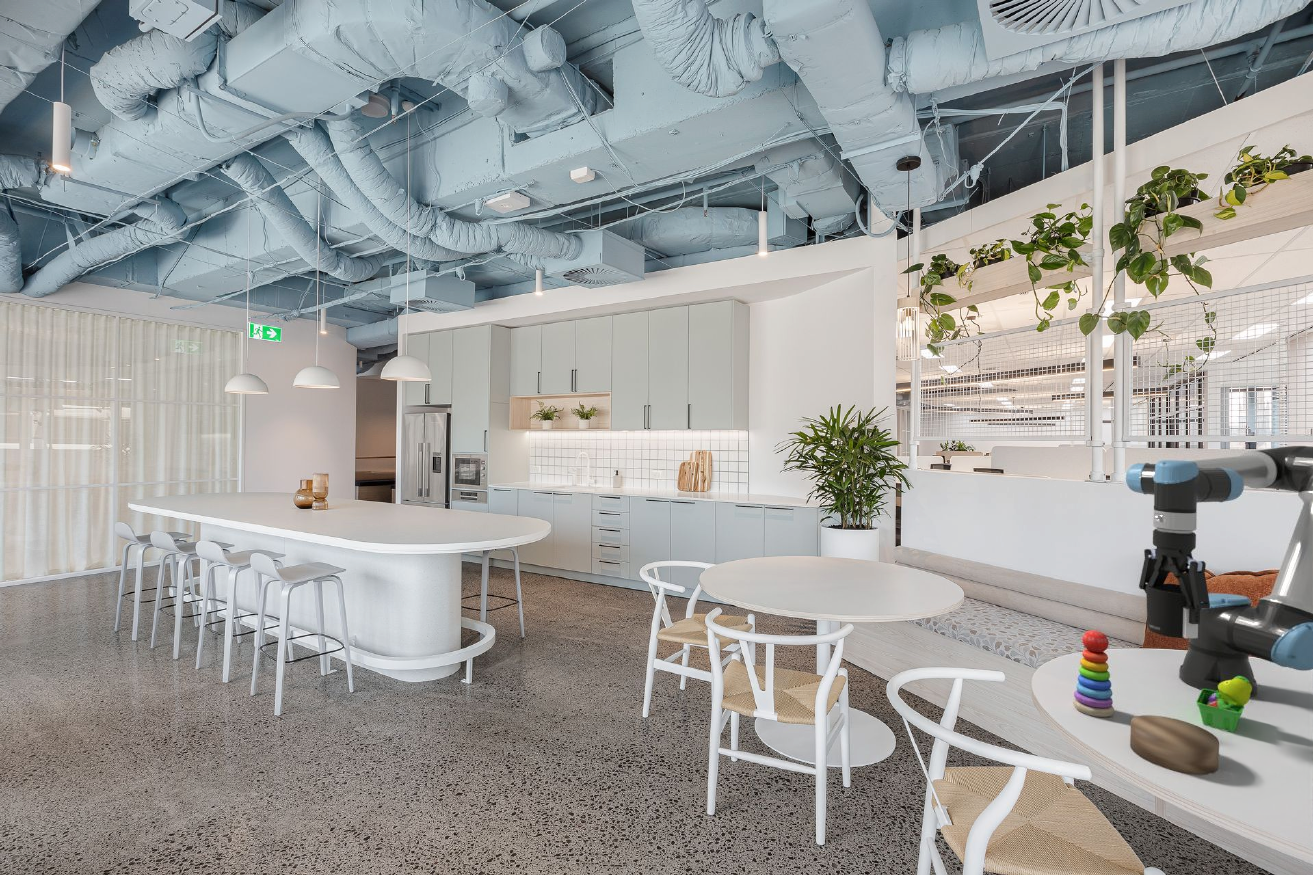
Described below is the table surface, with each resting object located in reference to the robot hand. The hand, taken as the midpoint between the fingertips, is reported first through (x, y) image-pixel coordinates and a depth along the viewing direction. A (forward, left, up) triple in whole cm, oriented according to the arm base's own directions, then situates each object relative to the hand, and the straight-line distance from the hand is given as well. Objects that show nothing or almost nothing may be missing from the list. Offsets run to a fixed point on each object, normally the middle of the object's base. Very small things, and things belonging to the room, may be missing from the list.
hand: (1171, 630), depth 146 cm
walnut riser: (+11, +14, -21) cm, 27 cm away
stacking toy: (+13, -6, -21) cm, 26 cm away
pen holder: (0, 0, -1) cm, 1 cm away
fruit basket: (-12, +1, -21) cm, 24 cm away
